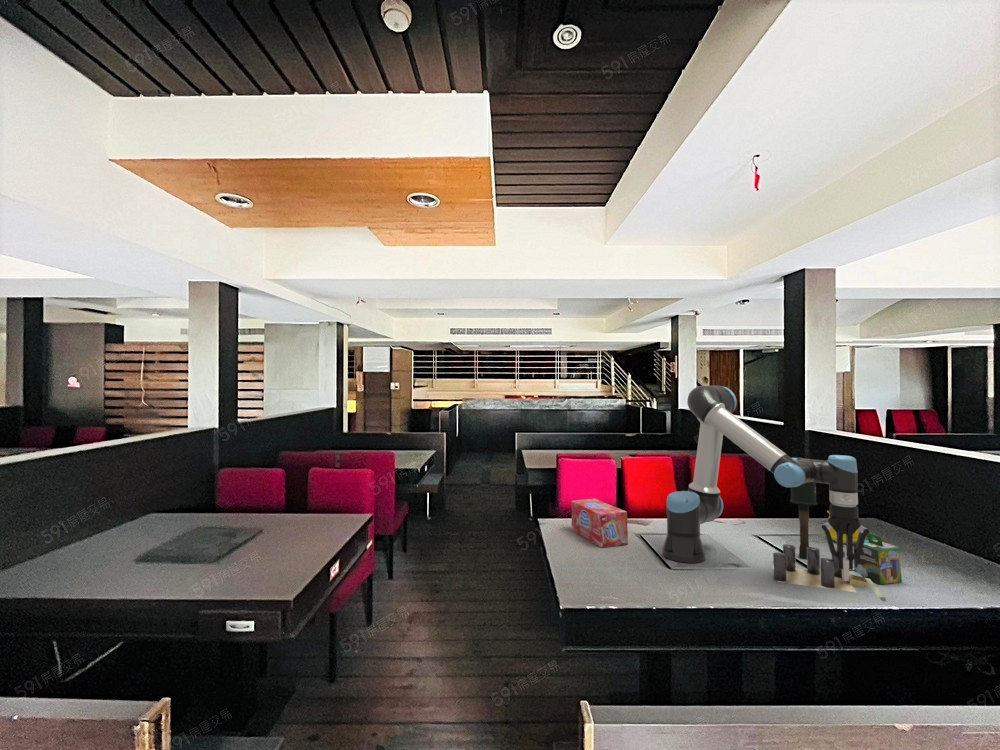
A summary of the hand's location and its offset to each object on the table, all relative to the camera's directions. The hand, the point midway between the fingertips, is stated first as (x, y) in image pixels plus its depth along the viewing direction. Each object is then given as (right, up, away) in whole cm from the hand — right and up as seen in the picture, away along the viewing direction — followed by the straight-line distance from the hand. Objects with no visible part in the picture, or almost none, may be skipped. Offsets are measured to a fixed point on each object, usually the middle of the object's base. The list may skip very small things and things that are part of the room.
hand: (845, 579), depth 155 cm
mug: (+32, -4, +47) cm, 57 cm away
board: (-5, -3, +2) cm, 6 cm away
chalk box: (+15, -3, +6) cm, 17 cm away
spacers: (-9, -1, +4) cm, 10 cm away
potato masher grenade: (+2, -3, +24) cm, 25 cm away
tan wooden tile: (+3, -1, -1) cm, 3 cm away
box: (-68, -5, +53) cm, 87 cm away
